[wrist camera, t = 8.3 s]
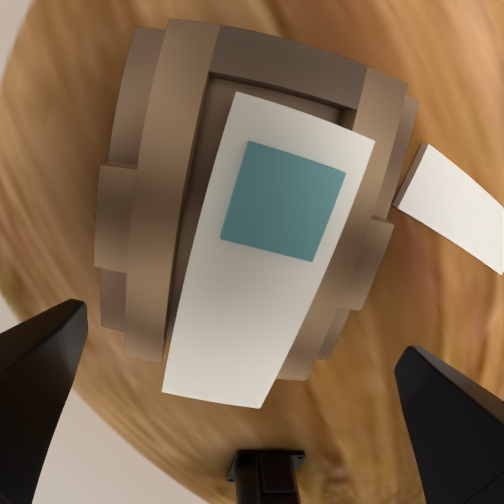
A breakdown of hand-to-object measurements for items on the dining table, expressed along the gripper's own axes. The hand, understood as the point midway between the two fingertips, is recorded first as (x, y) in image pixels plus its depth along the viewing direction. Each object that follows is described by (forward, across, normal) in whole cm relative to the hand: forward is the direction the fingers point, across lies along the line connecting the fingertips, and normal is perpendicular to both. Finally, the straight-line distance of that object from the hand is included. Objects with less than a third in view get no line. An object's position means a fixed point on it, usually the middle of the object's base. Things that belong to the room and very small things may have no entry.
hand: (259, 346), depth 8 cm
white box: (+8, 0, 0) cm, 8 cm away
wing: (+10, -14, -4) cm, 18 cm away
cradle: (+9, 0, -1) cm, 9 cm away
